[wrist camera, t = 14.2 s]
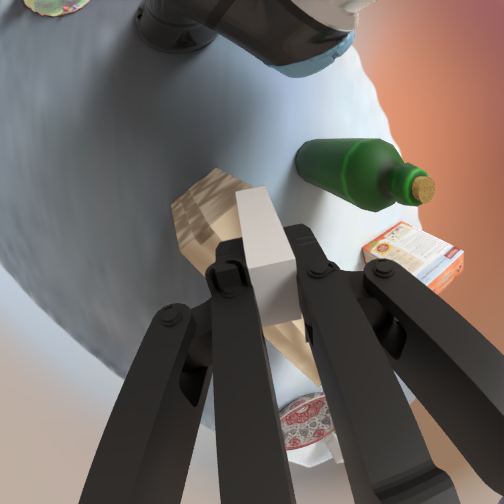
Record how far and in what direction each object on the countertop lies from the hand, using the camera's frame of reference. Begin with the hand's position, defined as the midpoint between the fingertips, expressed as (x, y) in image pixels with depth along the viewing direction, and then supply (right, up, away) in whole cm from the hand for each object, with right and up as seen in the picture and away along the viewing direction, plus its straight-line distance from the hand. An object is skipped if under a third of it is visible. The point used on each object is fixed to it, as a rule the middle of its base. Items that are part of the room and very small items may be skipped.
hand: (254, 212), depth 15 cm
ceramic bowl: (+16, -52, +68) cm, 87 cm away
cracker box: (+32, 0, +52) cm, 62 cm away
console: (-1, -2, +42) cm, 42 cm away
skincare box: (+31, -73, +83) cm, 115 cm away
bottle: (+12, +16, +39) cm, 43 cm away
